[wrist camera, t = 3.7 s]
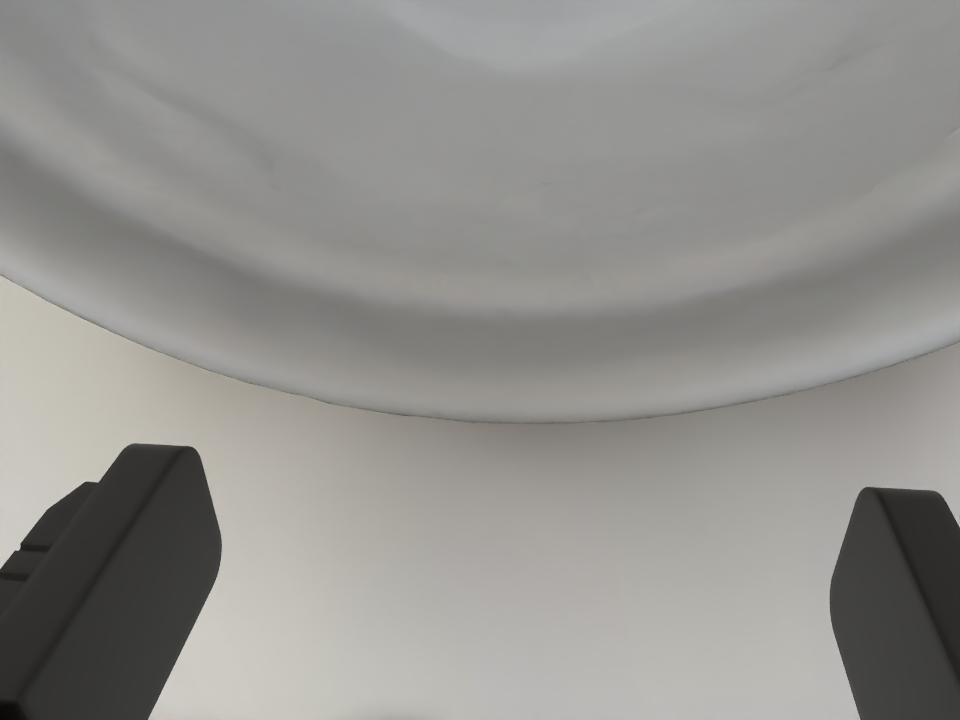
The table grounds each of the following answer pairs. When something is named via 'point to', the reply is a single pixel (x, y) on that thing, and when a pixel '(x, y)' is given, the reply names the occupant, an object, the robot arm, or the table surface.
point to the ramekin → (492, 194)
